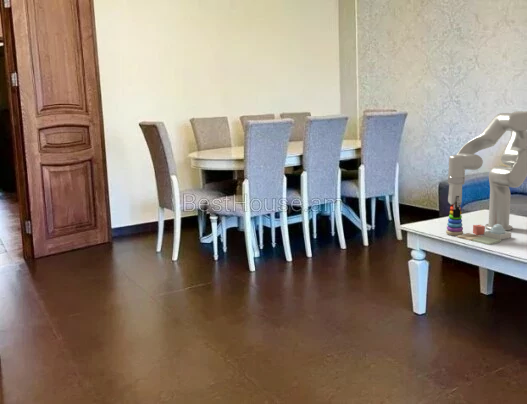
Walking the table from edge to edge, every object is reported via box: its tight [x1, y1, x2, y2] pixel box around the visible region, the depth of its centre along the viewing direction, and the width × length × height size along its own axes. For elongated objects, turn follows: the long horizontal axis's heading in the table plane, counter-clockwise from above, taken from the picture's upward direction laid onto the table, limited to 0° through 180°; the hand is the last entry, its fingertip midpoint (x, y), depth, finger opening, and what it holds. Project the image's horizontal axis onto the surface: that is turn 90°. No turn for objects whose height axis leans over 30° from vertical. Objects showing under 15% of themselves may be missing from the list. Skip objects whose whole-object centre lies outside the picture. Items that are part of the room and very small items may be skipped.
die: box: [472, 224, 486, 236], centre depth 266 cm, size 4×4×4 cm
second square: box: [472, 237, 502, 246], centre depth 252 cm, size 8×8×1 cm
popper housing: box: [483, 229, 512, 241], centre depth 258 cm, size 9×9×3 cm
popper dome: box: [491, 224, 505, 235], centre depth 257 cm, size 6×6×5 cm
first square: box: [456, 232, 484, 242], centre depth 259 cm, size 8×8×1 cm
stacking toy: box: [445, 204, 464, 237], centre depth 265 cm, size 8×8×19 cm
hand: (454, 215), depth 265 cm, fingers open, 9 cm apart
